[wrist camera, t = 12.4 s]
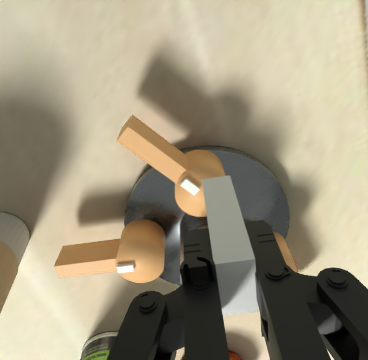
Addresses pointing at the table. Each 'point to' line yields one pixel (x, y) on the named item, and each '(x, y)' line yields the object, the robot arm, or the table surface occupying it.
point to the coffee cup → (10, 251)
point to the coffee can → (98, 346)
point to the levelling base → (245, 187)
